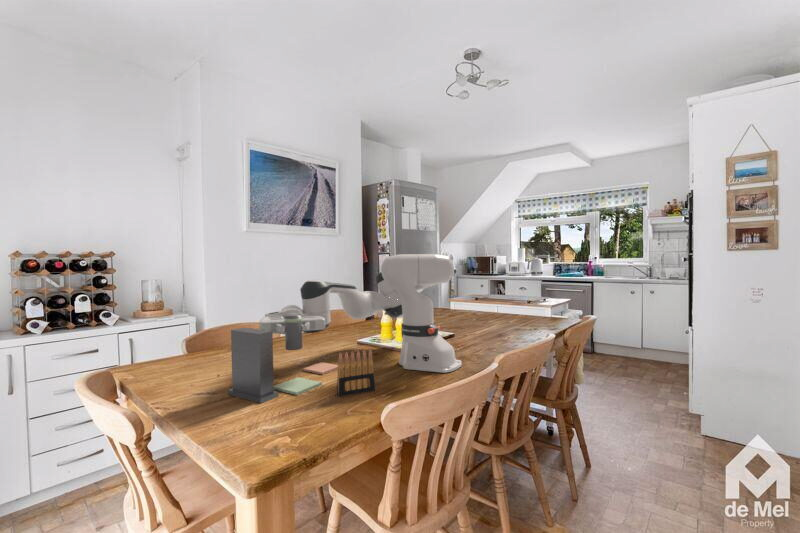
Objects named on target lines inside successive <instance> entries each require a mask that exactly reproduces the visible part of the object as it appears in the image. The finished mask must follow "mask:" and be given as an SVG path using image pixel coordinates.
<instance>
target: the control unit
mask: <svg viewBox="0 0 800 533" xmlns="http://www.w3.org/2000/svg"><path fill="white" fill-rule="evenodd" d="M273 336H274V335H273V333H272V331H267V330H260V329H259V328H258V329H257V328H250V327H241V328H236V329H231V330H230V344H231V345H230V347H231V349H230V351H231V380H232V381H231V382H232V384H231V385H232V386H231V388H229V389H227V395H229V394H230V395H229V396H233V395H234V396H233V397H236V396H237V397H238V398H240V397H241V398H240V399H243V398H244V399H243V400H247V399H248V401H250V400H251V402H254V401H255V402H254V403H257V402H258V403H257V404H262V403H265V402H267V401H270V400H272V399H276V398H278V397H279V396H280V395H279V394H280V391H277V390H274V386H275V385H274V384H275V383H274V345H273V343H274V342H273V341H274V340H273V339H274V338H273ZM237 397H236V398H237ZM275 397H276V398H275Z"/></svg>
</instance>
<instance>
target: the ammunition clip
mask: <svg viewBox="0 0 800 533" xmlns="http://www.w3.org/2000/svg"><path fill="white" fill-rule="evenodd" d="M361 355H362V356H361ZM355 356H356V358H355ZM343 359H344V362H343ZM373 359H374V358H373V352H372V349H371V348H369V349H368V354H367V352H366V349H363V350H362V354H361V353H360V350H357V352H356V355H355V353H354V351H353V350H352V351H350V360H349V355H348V352H347V351H346V352H345V354H344V358H343V355H342V353H341V352H339V354H338V359H337V360H338V361H337V362H338V363H337V365H338V369H337V376H336V377H337V380H336V381H337V382H336V383H337V384H336V395H337V396H338V397H345V396H350V395H356V394H357V395H358V394H362V393H368V392H369V393H370V392H375V391H376V389H375V387H376V386H375V373H374V361H373ZM361 360H362V361H361ZM349 361H350V362H349Z"/></svg>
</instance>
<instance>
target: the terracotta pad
mask: <svg viewBox="0 0 800 533" xmlns="http://www.w3.org/2000/svg"><path fill="white" fill-rule="evenodd" d="M336 369H337V370H338V364H334V363H328V362H323V361H320V362H318V363H315V364H312V365H310V366H306V367H303V368H302V371H303V372H306V371H307V373H311V372H312V374H317V375H321V374H322V376H324V375H326V374H328V372H329V373H331V371H332V372H334V371H337V370H336ZM323 374H324V375H323Z"/></svg>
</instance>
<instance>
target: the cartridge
mask: <svg viewBox="0 0 800 533" xmlns="http://www.w3.org/2000/svg"><path fill="white" fill-rule="evenodd" d="M284 319H285V334H284V337H285V338H284V340H285V341H284V343H285V346H284V347H285V350H286V351H298V350H302V349H303V332H302V315H300V314H291V315H285V318H284Z"/></svg>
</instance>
